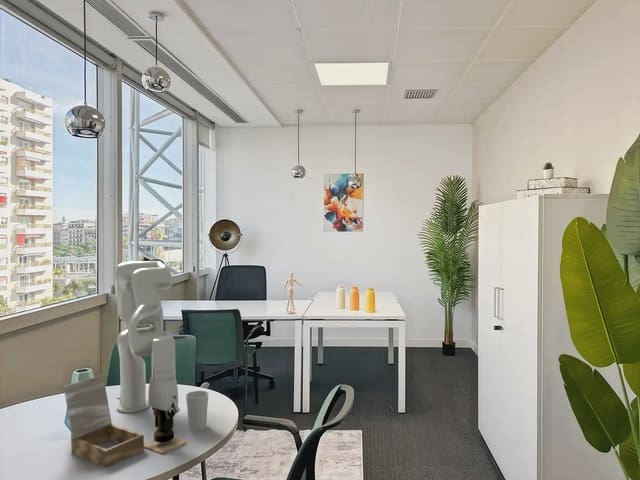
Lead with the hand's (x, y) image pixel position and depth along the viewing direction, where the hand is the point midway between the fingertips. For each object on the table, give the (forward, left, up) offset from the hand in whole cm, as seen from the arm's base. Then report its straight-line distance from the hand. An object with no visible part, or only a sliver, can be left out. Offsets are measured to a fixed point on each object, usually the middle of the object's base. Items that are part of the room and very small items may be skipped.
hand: (164, 427), depth 172 cm
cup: (-2, +17, -6) cm, 18 cm away
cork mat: (0, 0, -6) cm, 6 cm away
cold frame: (-14, -13, -6) cm, 20 cm away
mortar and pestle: (0, 0, -4) cm, 4 cm away
